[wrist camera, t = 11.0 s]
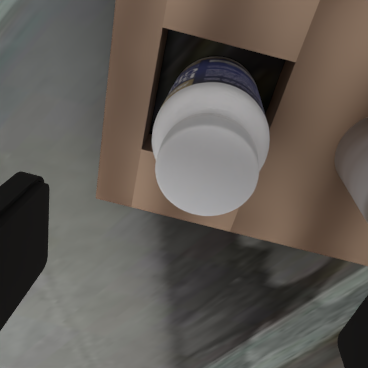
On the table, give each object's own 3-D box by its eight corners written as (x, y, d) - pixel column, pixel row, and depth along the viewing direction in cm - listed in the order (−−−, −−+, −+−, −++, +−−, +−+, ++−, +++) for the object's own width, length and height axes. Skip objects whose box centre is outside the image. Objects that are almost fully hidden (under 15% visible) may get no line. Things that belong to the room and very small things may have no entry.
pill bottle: (189, 39, 19) (162, 79, 11) (273, 75, 20) (309, 139, 11) (160, 121, 22) (121, 204, 14) (234, 151, 22) (240, 247, 14)
